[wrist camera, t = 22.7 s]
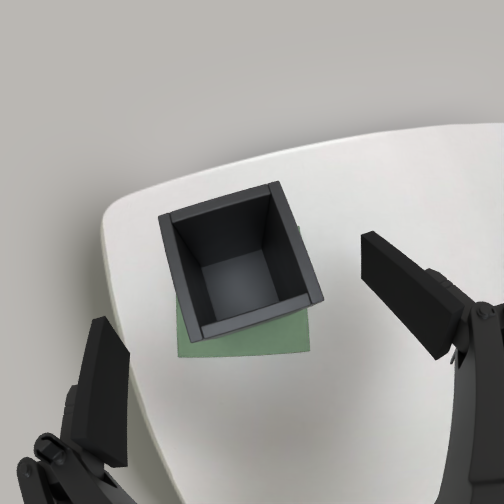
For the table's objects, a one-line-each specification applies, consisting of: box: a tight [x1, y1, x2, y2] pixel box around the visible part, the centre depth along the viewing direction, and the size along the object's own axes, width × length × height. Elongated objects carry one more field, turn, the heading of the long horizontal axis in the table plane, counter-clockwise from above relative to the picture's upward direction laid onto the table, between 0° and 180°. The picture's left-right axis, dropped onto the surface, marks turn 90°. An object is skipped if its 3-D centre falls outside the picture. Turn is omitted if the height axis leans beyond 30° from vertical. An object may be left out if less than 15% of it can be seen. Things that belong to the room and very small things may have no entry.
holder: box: [158, 181, 324, 343], centre depth 18 cm, size 6×6×10 cm
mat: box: [176, 226, 310, 357], centre depth 23 cm, size 10×10×1 cm
